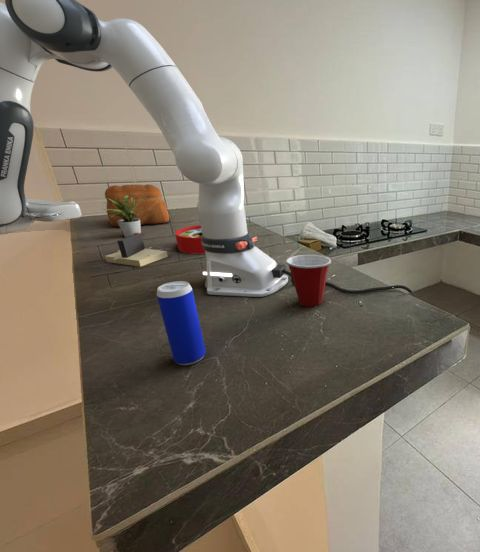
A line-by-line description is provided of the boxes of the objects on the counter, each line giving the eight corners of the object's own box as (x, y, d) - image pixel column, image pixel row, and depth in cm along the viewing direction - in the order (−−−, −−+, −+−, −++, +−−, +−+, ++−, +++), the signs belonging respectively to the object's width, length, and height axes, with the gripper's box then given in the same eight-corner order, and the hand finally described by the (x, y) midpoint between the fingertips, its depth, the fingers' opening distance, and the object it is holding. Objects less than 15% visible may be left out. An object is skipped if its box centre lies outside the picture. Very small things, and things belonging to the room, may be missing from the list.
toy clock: (160, 235, 112) (199, 222, 130) (164, 251, 114) (202, 236, 133) (215, 239, 111) (247, 226, 129) (218, 256, 113) (248, 240, 131)
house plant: (111, 232, 132) (99, 191, 126) (153, 229, 139) (143, 190, 133) (106, 241, 121) (92, 197, 115) (152, 237, 128) (141, 195, 122)
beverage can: (211, 350, 64) (197, 280, 58) (197, 367, 59) (180, 293, 53) (184, 349, 64) (167, 279, 58) (168, 366, 59) (147, 292, 53)
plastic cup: (339, 296, 88) (338, 255, 84) (319, 314, 79) (317, 269, 74) (304, 290, 91) (301, 249, 86) (281, 307, 81) (276, 262, 77)
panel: (172, 255, 111) (170, 249, 110) (135, 268, 99) (133, 261, 98) (137, 250, 114) (136, 245, 113) (98, 263, 102) (96, 256, 101)
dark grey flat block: (127, 257, 102) (122, 240, 100) (122, 257, 102) (116, 240, 99) (145, 248, 110) (140, 232, 108) (140, 248, 110) (135, 232, 108)
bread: (171, 224, 148) (163, 186, 141) (110, 229, 135) (97, 188, 129) (168, 216, 160) (160, 181, 154) (111, 221, 148) (100, 183, 142)
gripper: (35, 203, 74) (99, 195, 86) (-31, 197, 77) (39, 190, 90) (45, 230, 76) (106, 218, 89) (-19, 223, 80) (48, 212, 92)
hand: (72, 204), depth 89 cm, fingers closed
